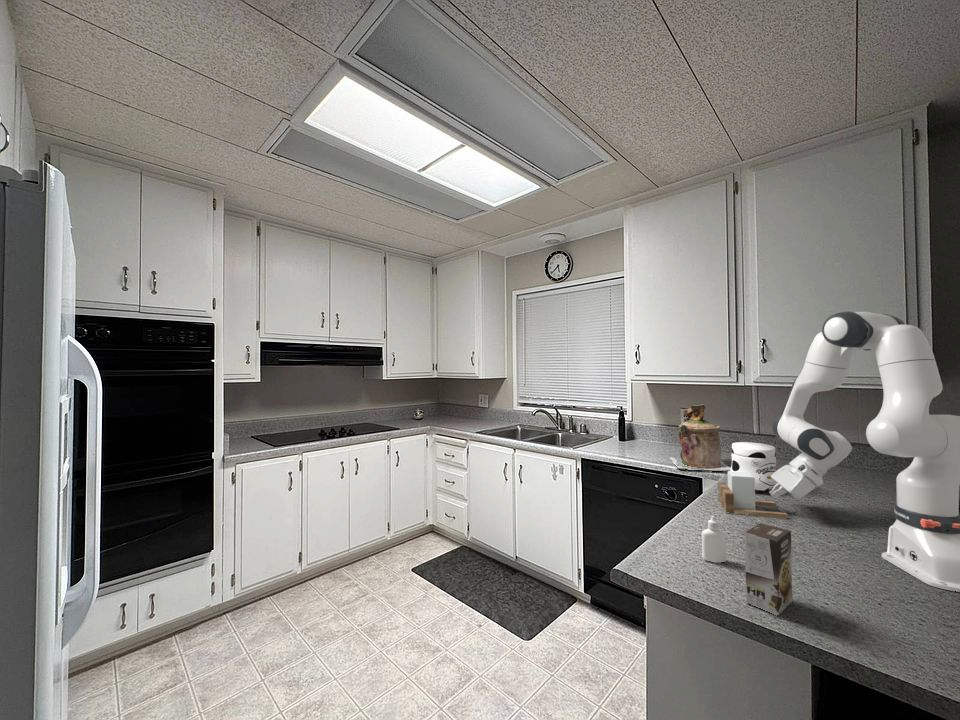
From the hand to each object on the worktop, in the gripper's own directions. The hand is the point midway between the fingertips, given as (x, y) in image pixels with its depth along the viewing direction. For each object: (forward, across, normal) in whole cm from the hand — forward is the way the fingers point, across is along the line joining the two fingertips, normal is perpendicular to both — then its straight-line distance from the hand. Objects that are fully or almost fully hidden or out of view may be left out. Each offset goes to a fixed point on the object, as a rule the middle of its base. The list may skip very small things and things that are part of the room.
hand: (771, 495), depth 146 cm
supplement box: (+11, -1, -2) cm, 11 cm away
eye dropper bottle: (+23, +46, -14) cm, 53 cm away
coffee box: (+17, +64, -8) cm, 66 cm away
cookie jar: (+14, -62, -6) cm, 64 cm away
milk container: (+3, -28, +5) cm, 29 cm away
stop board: (+14, 0, -6) cm, 15 cm away
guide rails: (+8, 0, 0) cm, 9 cm away
